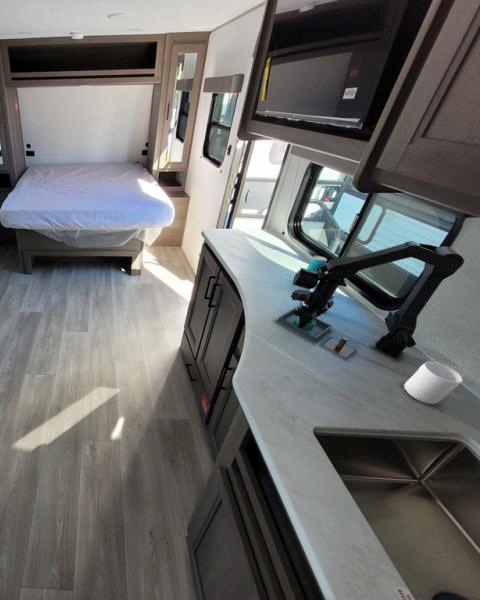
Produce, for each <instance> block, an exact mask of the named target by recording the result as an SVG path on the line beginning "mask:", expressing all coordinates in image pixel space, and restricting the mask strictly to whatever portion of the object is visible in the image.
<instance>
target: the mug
mask: <svg viewBox="0 0 480 600" xmlns="http://www.w3.org/2000/svg"><path fill="white" fill-rule="evenodd" d="M462 382H464V381H463V377H462V376H461V374H459V373H458V372H457V371H456V370H455V369H453V368H451V367H450V366H447V365H445V364H443V363H440V362H436V361H425V362H424V363H422V364H421V366H419V367H418V369H417V370H416V371H415V372H414V373H413V374H412V376H410V377H409V378H408V380H406V381H405V383H404V384H403V388H404V390H405V391H406V393H407V394H408V395H409V396H411V397H412V398H413V399H415V400H417V401H419V402H421V403H424V404H429V405H435V404H438V403H439V402H441V401H442V400H443V399H444V398H445V397H446V396H448V395H449V394H450V393H451V392H452V391H453V390H454V389H456V388H457V387H458V386H459V385H460V384H461V383H462Z"/></svg>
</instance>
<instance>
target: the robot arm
mask: <svg viewBox="0 0 480 600" xmlns="http://www.w3.org/2000/svg"><path fill="white" fill-rule="evenodd" d="M409 258H411V259H416V260H417V261H421V262H422V263H424V265H423V272H422V275H421V276H420V278H419V279H418V281H417V282H416V284H415V285H414V287H413V288H412V290H411V292H410V294H409V295H408V297H407V298H406V299H405V301H404V302H403V304H402V305H401V307H400V308H399V309H398V310H396V311H392V310H389V312H388V314H387V316H386V317H385V318H384V319H383V320H384V322H385V323H384V324H385V327H386V329H387V331H388V332H387V334H383V335H381V337H380V338H379V339H378V340H377V342H376V343H375V347H374V348H375V349H376V350H378V351H380V352H382V353H383V354H386V355H388V356H390V357H392V358H394V359H398V358H399V357H400V355H401V354H402V353H403V352H404V350H405V349H406V348H413V347H414V346H416V345H417V343H416V341H415V339H414V337H413V336H414V333H415V331H416V328H417V322H418V316H420V314H421V313H422V311H423V310H424V308H425V306H426V305H427V303H428V302H429V301H430V300H431V298H432V296H433V295H434V294H435V292H436V291H437V289H438V288H439V287H440V285H441V283H442V282H443V281H444V280H445V279H447V278H450V277H451V276H453V275H454V274H455V273H457V271H458V270H460V269H461V267H462V266H464V263H465V258H464V257H463V256H462V255H461V254H460V253H459V252H457V251H456V250H455V249H454V248H453V247H450V246H446V245H445V246H443V245H442V246H436V245H433V244H429V243H423V242H417V241H414V240H407V241H406V242H404V243H401V244H397V245H394V246H390V247H387V248H383V249H379V250H376V251H373V252H368V253H365V254H362V255H358V256H357V255H356V256H343V257H336V258H332V259H330V260H328V262H326V265H324V266H322V267H320V268H318V269H316V272H315V271H311V270H307V268H304V267H301V268H300V269H299V270H298V271H297V272H296V273H295V275H294V277H293V279H292V286H296V287H299V288H304V289H296V290H293V291H292V292H291V295H290V298H291V300H292V301H298V302H303V301H304V304H306V305H308V306H307V307H306V306H304V305H303V304H302V305H298V306H297V307H295V308H296V309H295V310H294V312H293V313H292V314H294V315H295V316H296V317H297V316H299V317H300V319H299V325H298V327H300V328H302V327H303V326H305V325H306V324H308V323H310V322H311V321H313V320H314V319H315V318H317V319H318V317H320V316H321V315H323V314H324V313H326V312H327V311H328V310H329V309H331V308H332V307H333V306H334V304H335V301H334V298H333V296H332V295H333V294H334V295H335V293H336V291H337V289H338V287H339V286H340V287H344V288H345V287H348V284H347V282H346V280H345V279H347V278H350V277H351V276H354V275H356V274H357V273H359V272H360V271H363V270H366V269H370V268H374V267H378V266H382V265H386V264H390V263H393V262H398V261H401V260H405V259H409ZM326 272H327V273H326ZM313 288H315V289H314V291H312V292H311V291H310V289H313ZM305 289H308V290H305ZM332 298H333V300H331V299H332ZM327 306H328V307H327ZM326 307H327V308H326Z"/></svg>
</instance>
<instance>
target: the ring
mask: <svg viewBox="0 0 480 600" xmlns="http://www.w3.org/2000/svg"><path fill="white" fill-rule="evenodd" d="M299 319H300V317H299V316H297V315H296V318H295V320H294V322H293V324H294V325H296V326H297V327H298V325H299ZM316 325H317V324H316V321H315V320H313V321H311V322H310V323H308V324H306V325H305V326H303V327H302V328H301V329H303V330H305V331H307V332H310V331H313V329H314V328H315V326H316ZM299 328H300V327H299Z"/></svg>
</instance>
